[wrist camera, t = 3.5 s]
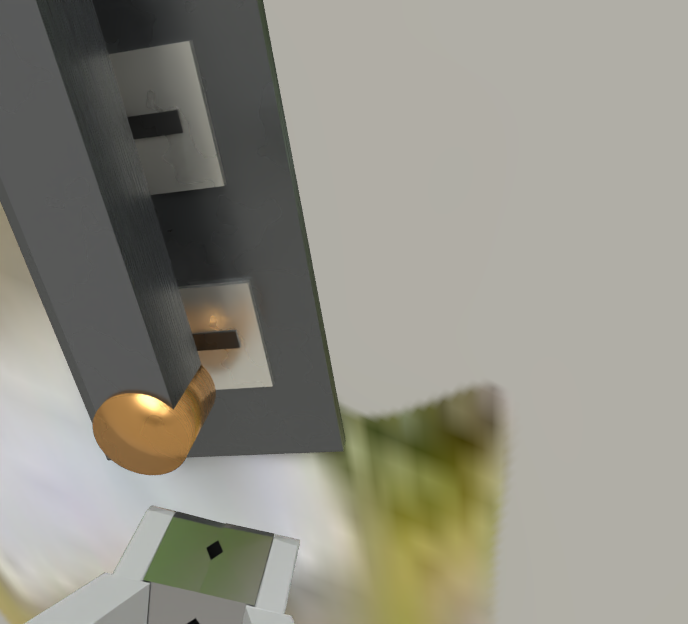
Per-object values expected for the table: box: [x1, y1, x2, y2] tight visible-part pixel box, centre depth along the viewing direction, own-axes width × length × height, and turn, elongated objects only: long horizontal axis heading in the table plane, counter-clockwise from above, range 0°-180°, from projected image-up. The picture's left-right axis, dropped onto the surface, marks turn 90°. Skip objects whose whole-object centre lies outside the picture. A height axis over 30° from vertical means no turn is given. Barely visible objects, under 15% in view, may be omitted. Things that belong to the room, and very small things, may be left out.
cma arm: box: [0, 0, 216, 475], centre depth 19 cm, size 25×4×3 cm, turn 9°
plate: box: [0, 0, 345, 460], centre depth 25 cm, size 12×22×1 cm, turn 9°
